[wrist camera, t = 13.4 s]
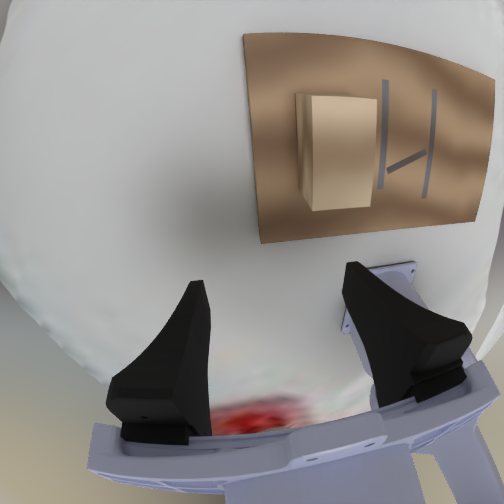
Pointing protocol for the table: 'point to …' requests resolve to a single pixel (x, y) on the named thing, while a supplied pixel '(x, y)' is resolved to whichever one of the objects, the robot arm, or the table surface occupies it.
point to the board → (387, 132)
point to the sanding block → (335, 149)
